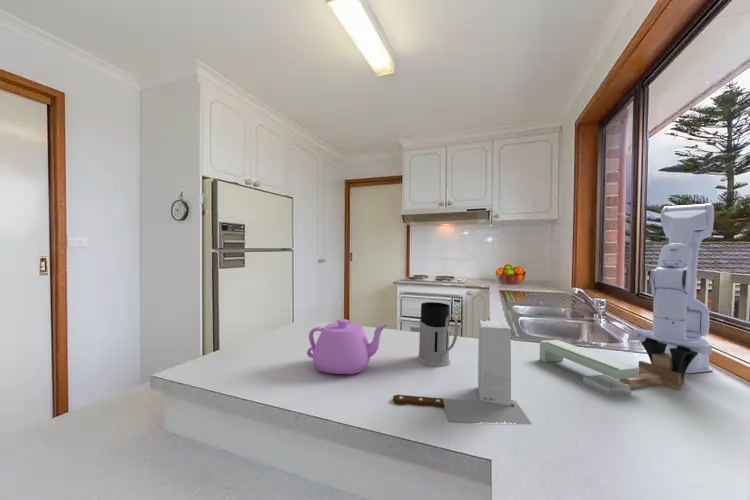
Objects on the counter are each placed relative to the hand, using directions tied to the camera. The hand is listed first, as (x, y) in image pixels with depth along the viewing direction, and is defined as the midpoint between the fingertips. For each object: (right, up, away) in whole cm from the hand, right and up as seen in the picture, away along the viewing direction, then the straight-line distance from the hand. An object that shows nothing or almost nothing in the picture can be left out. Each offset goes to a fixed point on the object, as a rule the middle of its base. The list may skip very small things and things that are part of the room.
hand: (667, 375), depth 73 cm
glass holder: (-53, 0, +7) cm, 53 cm away
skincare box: (-46, 0, -10) cm, 47 cm away
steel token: (-18, -1, -5) cm, 19 cm away
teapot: (-77, 0, +3) cm, 77 cm away
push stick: (-5, -1, -1) cm, 6 cm away
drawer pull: (-18, -1, +3) cm, 19 cm away
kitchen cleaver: (-54, -1, -16) cm, 57 cm away
